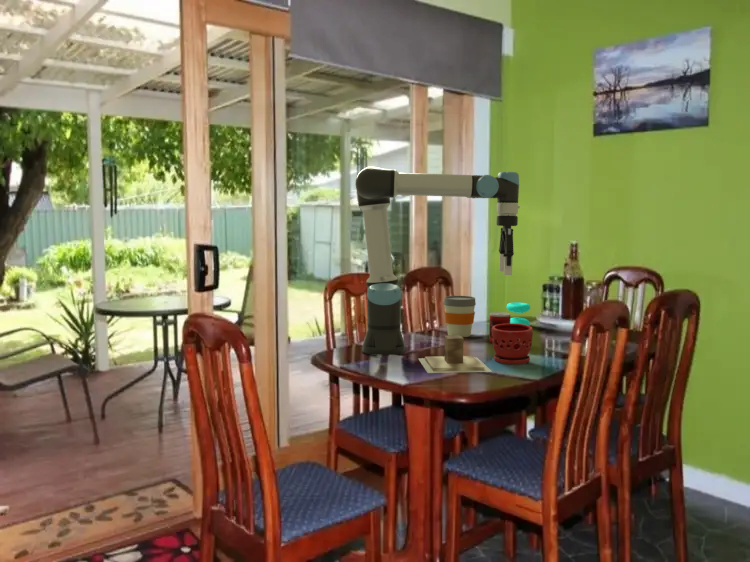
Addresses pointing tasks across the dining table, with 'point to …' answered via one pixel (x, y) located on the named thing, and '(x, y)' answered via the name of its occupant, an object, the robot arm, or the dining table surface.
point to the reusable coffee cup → (459, 315)
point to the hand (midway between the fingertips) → (505, 273)
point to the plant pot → (512, 343)
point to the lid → (454, 357)
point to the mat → (451, 371)
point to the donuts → (518, 308)
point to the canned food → (497, 321)
